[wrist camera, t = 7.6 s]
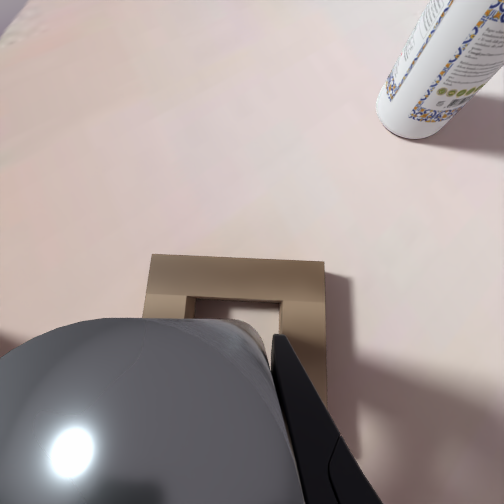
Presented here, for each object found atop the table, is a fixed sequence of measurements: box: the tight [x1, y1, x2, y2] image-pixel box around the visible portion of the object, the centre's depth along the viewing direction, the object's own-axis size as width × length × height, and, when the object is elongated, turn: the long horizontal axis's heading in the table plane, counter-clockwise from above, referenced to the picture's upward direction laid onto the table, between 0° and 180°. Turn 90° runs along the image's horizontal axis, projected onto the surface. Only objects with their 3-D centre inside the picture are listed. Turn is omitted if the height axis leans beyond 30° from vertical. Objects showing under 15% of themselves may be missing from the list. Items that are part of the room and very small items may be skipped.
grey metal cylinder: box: [0, 318, 304, 504], centre depth 9 cm, size 4×4×13 cm
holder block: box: [142, 254, 327, 409], centre depth 19 cm, size 13×13×3 cm
